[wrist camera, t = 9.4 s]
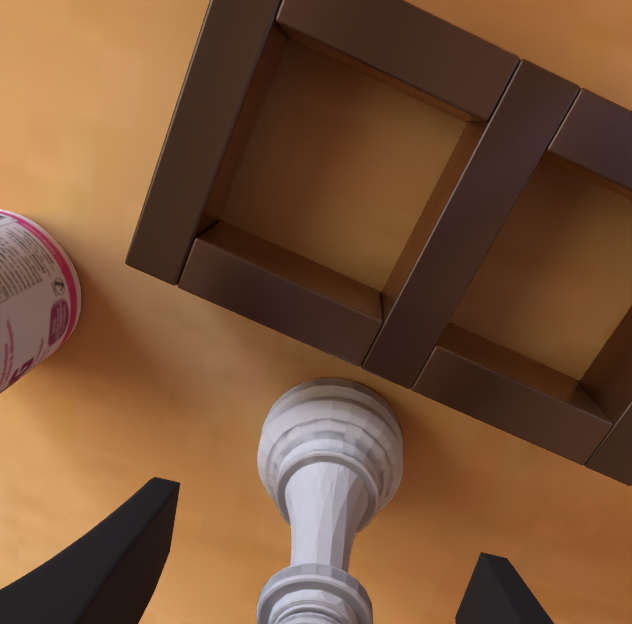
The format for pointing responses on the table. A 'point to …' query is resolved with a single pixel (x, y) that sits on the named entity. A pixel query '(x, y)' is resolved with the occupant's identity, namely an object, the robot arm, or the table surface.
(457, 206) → the stand
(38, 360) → the pill bottle
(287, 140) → the table surface
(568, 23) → the table surface
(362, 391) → the chess piece
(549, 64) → the table surface
